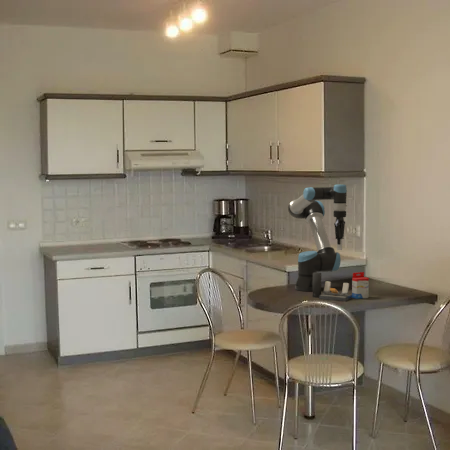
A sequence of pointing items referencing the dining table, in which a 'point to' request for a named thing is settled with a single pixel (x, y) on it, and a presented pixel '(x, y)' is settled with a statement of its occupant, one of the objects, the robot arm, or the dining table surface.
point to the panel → (335, 296)
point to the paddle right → (345, 289)
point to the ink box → (360, 286)
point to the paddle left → (327, 287)
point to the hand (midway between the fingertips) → (339, 249)
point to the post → (316, 284)
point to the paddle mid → (334, 291)
